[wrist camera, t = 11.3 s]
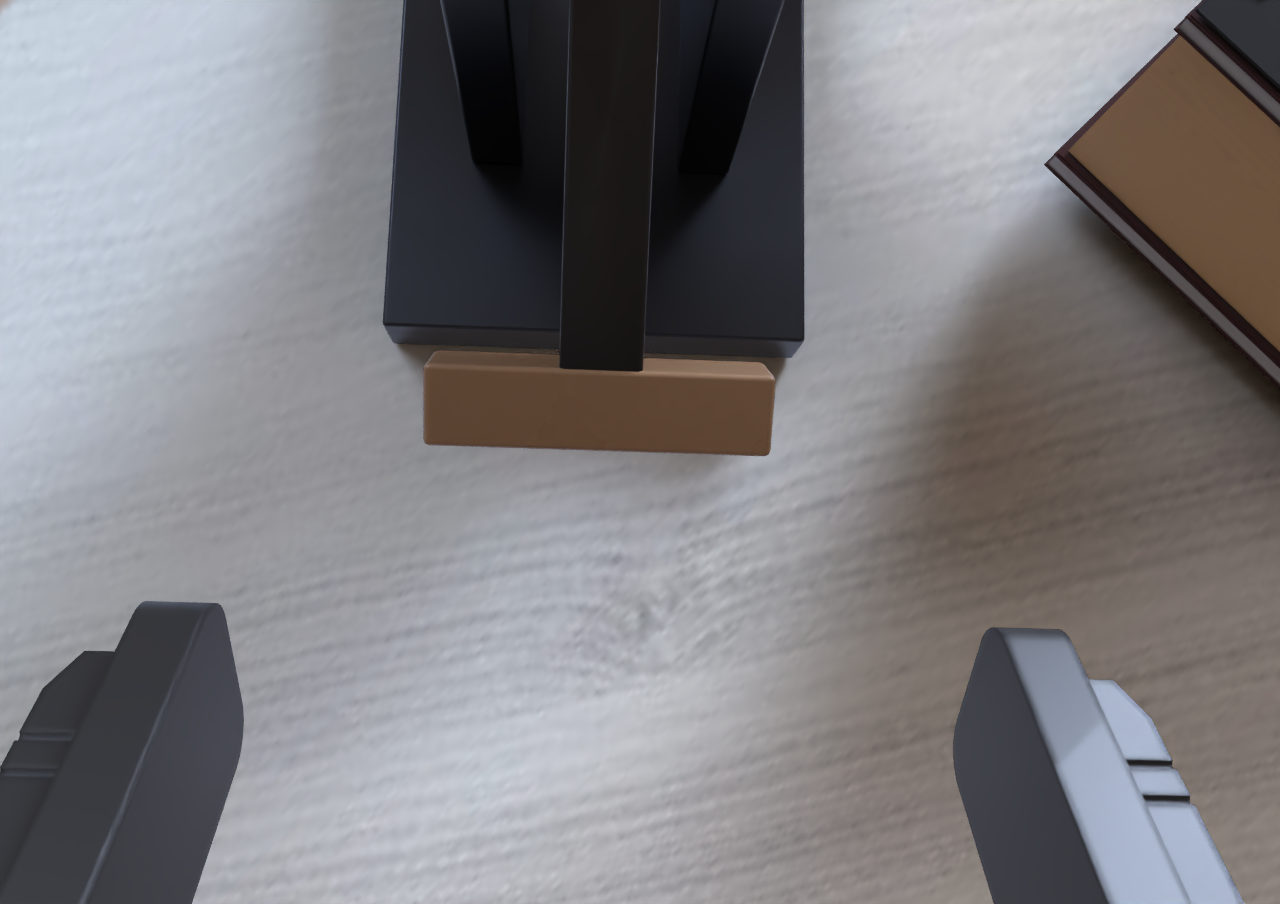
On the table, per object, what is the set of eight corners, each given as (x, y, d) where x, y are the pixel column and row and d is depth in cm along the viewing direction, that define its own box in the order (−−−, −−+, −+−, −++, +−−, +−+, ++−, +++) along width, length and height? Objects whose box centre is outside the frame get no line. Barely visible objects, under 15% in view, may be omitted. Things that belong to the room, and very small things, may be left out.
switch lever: (753, 426, 17) (778, 471, 15) (438, 415, 17) (415, 459, 15) (815, -433, 14) (858, -543, 12) (441, -461, 14) (412, -579, 12)
